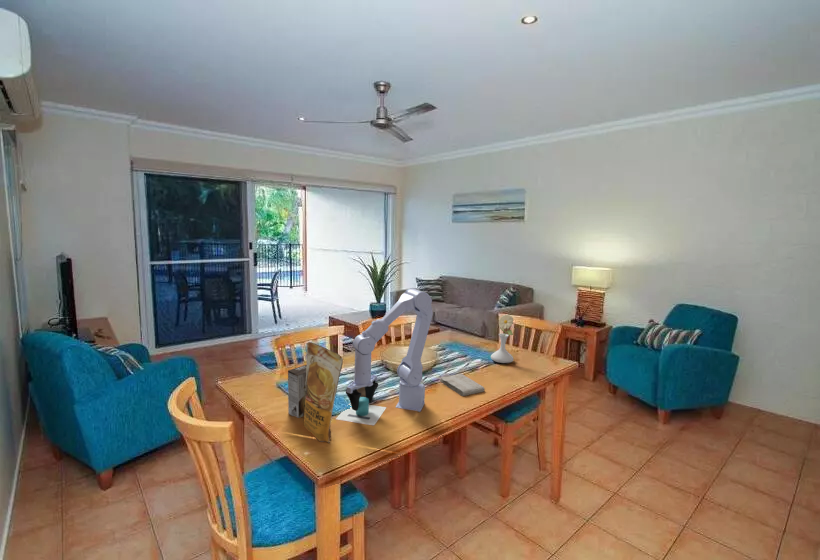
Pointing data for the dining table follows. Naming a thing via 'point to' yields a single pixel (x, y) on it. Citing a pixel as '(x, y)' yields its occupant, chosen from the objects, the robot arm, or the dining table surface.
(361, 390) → the walnut block
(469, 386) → the washcloth
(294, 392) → the coffee box
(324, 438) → the pancake mix bag
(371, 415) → the letter mat
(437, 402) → the dining table surface
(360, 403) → the teal rounded cylinder
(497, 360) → the flower in vase
